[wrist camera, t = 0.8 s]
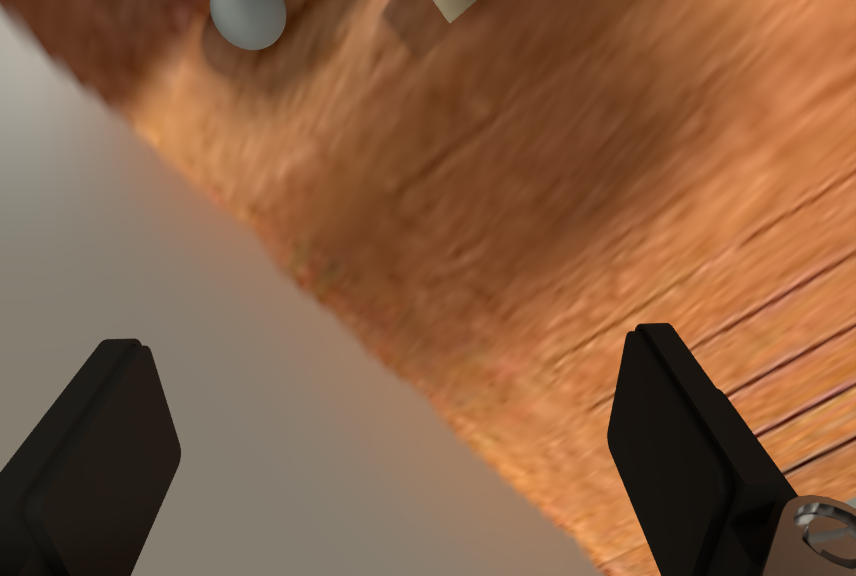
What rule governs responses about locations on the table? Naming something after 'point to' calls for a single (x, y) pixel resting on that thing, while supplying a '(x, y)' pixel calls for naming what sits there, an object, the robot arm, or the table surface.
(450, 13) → the beech block
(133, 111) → the table surface
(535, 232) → the table surface
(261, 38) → the grey ball
